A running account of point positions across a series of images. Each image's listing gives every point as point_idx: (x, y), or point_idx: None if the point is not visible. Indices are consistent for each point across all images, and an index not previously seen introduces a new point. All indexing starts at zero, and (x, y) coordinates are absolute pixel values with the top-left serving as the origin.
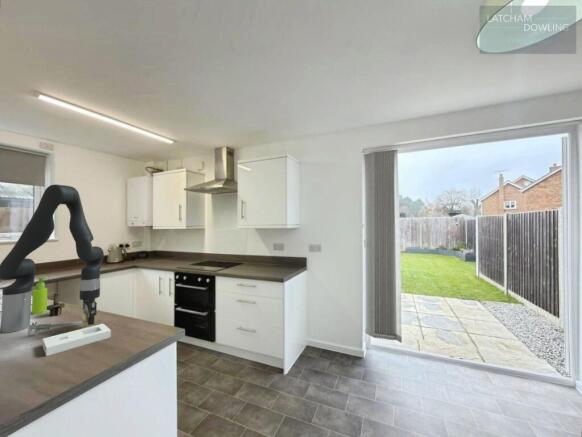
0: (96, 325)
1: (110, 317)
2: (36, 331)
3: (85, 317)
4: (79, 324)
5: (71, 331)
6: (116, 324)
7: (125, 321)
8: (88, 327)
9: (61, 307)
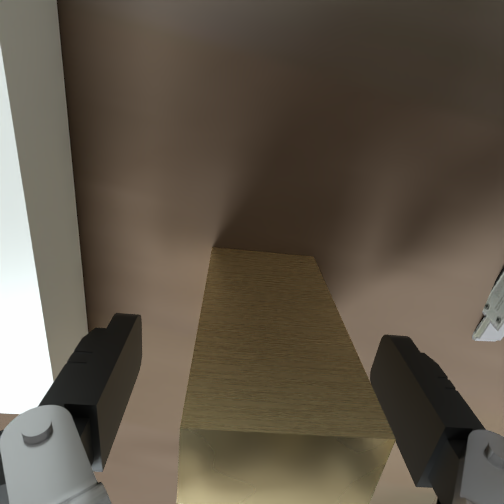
0: (38, 359)
1: (402, 475)
2: None
3: (190, 371)
4: (497, 282)
5: (2, 75)
6: (155, 452)
7: (172, 501)
8: (22, 284)
9: None
